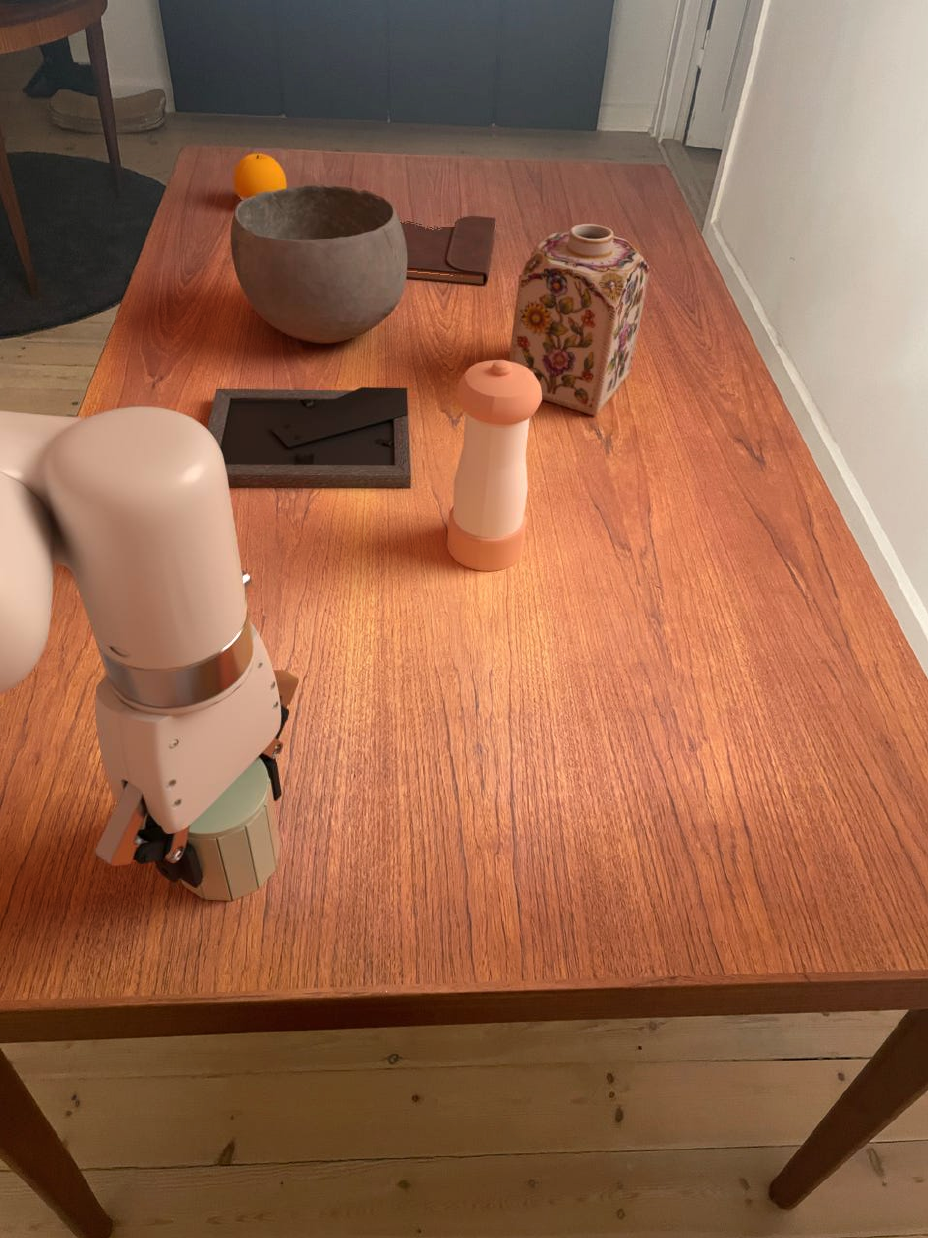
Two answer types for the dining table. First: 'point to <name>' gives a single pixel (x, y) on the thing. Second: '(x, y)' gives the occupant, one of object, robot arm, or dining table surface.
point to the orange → (258, 175)
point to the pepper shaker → (492, 465)
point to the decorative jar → (579, 315)
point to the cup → (237, 838)
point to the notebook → (451, 251)
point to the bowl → (319, 260)
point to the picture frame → (313, 437)
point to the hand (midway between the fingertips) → (222, 828)
